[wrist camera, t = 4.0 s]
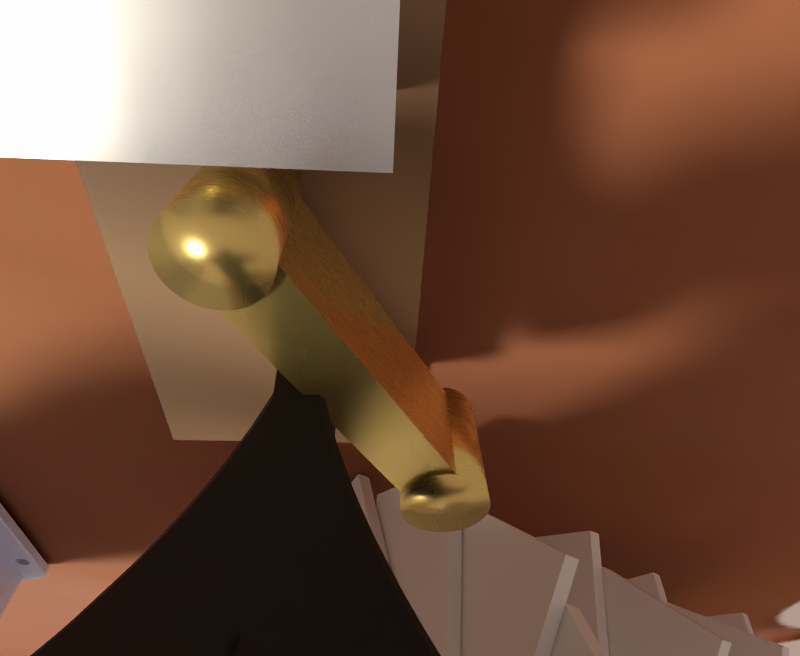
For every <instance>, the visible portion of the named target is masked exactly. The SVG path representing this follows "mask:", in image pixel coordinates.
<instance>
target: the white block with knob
mask: <svg viewBox="0 0 800 656" xmlns="http://www.w3.org/2000/svg"><path fill="white" fill-rule="evenodd" d="M399 13H400V0H0V157H6V158H31V159H56V160H81V161H105V162H130V163H155V164H180V165H204V166H229V167H254V168H278V169H303V170H328V171H353V172H377V173H393V159H394V135H395V111H396V86H397V62H398V38H399Z"/></svg>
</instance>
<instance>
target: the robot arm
mask: <svg viewBox="0 0 800 656" xmlns="http://www.w3.org/2000/svg"><path fill="white" fill-rule="evenodd" d="M335 429H336V427H335V426H334V425H333V424H332V423H331V421H330V417H329V413H328V409H327V405H326V400H325V399H324V398H322V397H321V396H320V395H303V394H302V393H300V392H299V391H298V390H297V389H296V388H295V387H294V386H293V385H292V384H291V383H290V382H289V381H288V380H287V379H286V378H285V377H284V376H283V375H282V374H281V373H280V372H279V371H278V370H277V372H276V379H275V386H274V392H273V394H272V395H271V397H270V399H269V400H268V402H267V403H266V405H265V406H264V408H263V409H262V411H261V412H260V414H259V416H258V417H257V419H256V420H255V422H254V423H253V425H252V426H251V427H250V429H249V430H248V432H247V433H246V434H245V436H244V437H243V439H242V440H241V441H240V443H239V444H238V445H237V447H236V448H235V449H234V451H233V452H232V453H231V455H230V456H229V457H228V459H227V460H226V462H225V463H224V464H223V465H222V467H221V468H220V469H219V470H218V472H217V473H216V474H215V475H214V477H213V478H212V479H211V480H210V481H209V483H208V484H207V485H206V486H205V487H204V489H203V490H202V491H201V492H200V493H199V494H198V496H197V497H196V498H195V499H194V500H193V501H192V502H191V504H190V505H189V506H188V507H187V508H186V509H185V510H184V512H183V513H182V514H181V515H180V516H179V517H178V518H177V519H176V520H175V521H174V522H173V523H172V524H171V525H170V526H169V528H168V529H167V530H166V531H165V532H164V533H163V534H162V535H161V536H160V537H159V538H158V539H157V540H156V541H155V542H154V543H153V544H152V545H151V546H150V547H149V548H148V549H147V550H146V551H145V553H144V554H143V555H142V556H141V557H140V558H139V559H137V560H136V561H135V562H134V563H133V564H132V565H131V566H130V567H129V568H128V569H127V570H126V571H125V572H124V573H123V574H122V575H121V576H120V577H119V578H117V579H116V580H115V581H114V582H113V583H112V584H111V585H110V586H109V587H108V588H107V589H106V590H104V591H103V592H102V593H101V594H100V595H99V596H98V597H97V598H96V599H95V600H94V601H93V602H92V603H90V604H89V605H88V606H87V607H86V608H85V609H84V610H83V611H82V612H81V613H80V614H79V615H78V616H76V617H75V618H74V619H73V620H72V621H71V622H70V623H69V624H67V625H66V626H65V627H64V628H63V629H62V630H61V631H59V632H58V633H57V634H56V635H55V636H54V637H52V638H51V639H50V640H49V641H48V642H46V643H45V644H44V645H43V646H42V647H40V648H39V649H38V650H37V651H35V652H34V653H33V654H32V655H31V656H441V655H440V654H439V652H438V650H437V649H436V647H435V645H434V644H433V642H432V640H431V639H430V637H429V635H428V634H427V632H426V630H425V629H424V627H423V626H422V624H421V622H420V620H419V619H418V617H417V615H416V613H415V612H414V610H413V608H412V606H411V605H410V603H409V601H408V599H407V598H406V596H405V594H404V592H403V591H402V589H401V587H400V585H399V583H398V581H397V579H396V577H395V575H394V573H393V572H392V570H391V568H390V566H389V564H388V562H387V560H386V558H385V556H384V554H383V552H382V550H381V548H380V546H379V544H378V542H377V540H376V538H375V536H374V534H373V532H372V530H371V528H370V526H369V523H368V521H367V519H366V517H365V515H364V512H363V510H362V508H361V506H360V503H359V501H358V498H357V496H356V494H355V491H354V489H353V486H352V484H351V481H350V479H349V476H348V474H347V471H346V468H345V465H344V463H343V460H342V457H341V454H340V451H339V448H338V445H337V442H336V438H335ZM48 569H49V567H48V564H47V563H46V562H45V560H44V559H43V558H42V557H41V555H40V554H39V553H38V551H37V550H36V549H35V547H34V546H33V545H32V544H31V542H30V541H29V540H28V538H27V537H26V536H25V534H24V533H23V532H22V531H21V529H20V528H19V527H18V525H17V524H16V523H15V521H14V520H13V519H12V517H11V516H10V515H9V514H8V512H7V511H6V510H5V508H4V507H3V506H2V504H1V503H0V617H1V615H2V613H3V611H4V610H5V608H6V606H7V604H8V603H9V601H10V599H11V597H12V596H13V594H14V592H15V591H16V589H17V587H18V585H19V584H20V582H21V580H22V579H37V578H41V577H44V576H45V574H46V572H47V570H48Z"/></svg>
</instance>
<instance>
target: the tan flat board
mask: <svg viewBox="0 0 800 656" xmlns="http://www.w3.org/2000/svg"><path fill="white" fill-rule="evenodd" d="M446 3H447V0H400V13H399V38H398V62H397V86H396V111H395V135H394V159H393V173H377V172H353V171H328V170H303V169H297V171H298V173H299V176H300V179H301V184H302V196H301V199H302V200H303V201H304V203H305V204H306V205H307V207H308V208H309V209H310V211H311V212H312V213H313V215H314V216H315V217H316V219H317V220H318V221H319V223H320V224H321V225H322V227H323V228H324V229H325V231H326V232H327V233H328V235H329V236H330V237H331V239H332V240H333V242H334V243H335V244H336V246H337V247H338V248H339V250H340V251H341V252H342V254H343V255H344V256H345V258H346V259H347V260H348V262H349V263H350V264H351V266H352V267H353V268H354V270H355V271H356V272H357V274H358V275H359V276H360V278H361V279H362V280H363V282H364V283H365V284H366V286H367V287H368V288H369V290H370V291H371V293H372V294H373V295H374V297H375V298H376V299H377V301H378V302H379V303H380V305H381V306H382V307H383V309H384V310H385V311H386V313H387V314H388V315H389V317H390V318H391V319H392V321H393V322H394V323H395V325H396V326H397V327H398V329H399V330H400V331H401V333H402V334H403V335H404V337H405V338H406V340H407V341H408V342H409V344H410V345H411V346H412V348H413V349H414V350H415V351H416V339H417V328H418V317H419V306H420V295H421V283H422V272H423V261H424V250H425V239H426V227H427V216H428V205H429V194H430V182H431V171H432V160H433V149H434V138H435V126H436V115H437V104H438V93H439V82H440V70H441V59H442V48H443V37H444V25H445V14H446ZM75 161H76V164H77V167H78V170H79V172H80V175H81V178H82V181H83V184H84V187H85V190H86V192H87V195H88V198H89V201H90V204H91V207H92V209H93V212H94V215H95V218H96V221H97V224H98V227H99V229H100V232H101V235H102V238H103V241H104V244H105V246H106V249H107V252H108V255H109V258H110V261H111V264H112V266H113V269H114V272H115V275H116V278H117V281H118V283H119V286H120V289H121V292H122V295H123V298H124V301H125V303H126V306H127V309H128V312H129V315H130V318H131V320H132V323H133V326H134V329H135V332H136V335H137V338H138V340H139V343H140V346H141V349H142V352H143V355H144V357H145V360H146V363H147V366H148V369H149V372H150V375H151V377H152V380H153V383H154V386H155V389H156V392H157V395H158V397H159V400H160V403H161V406H162V409H163V412H164V414H165V417H166V420H167V423H168V426H169V429H170V432H171V434H172V437H173V440H215V441H241V440H242V439H243V437H244V436H245V434H246V433H247V432H248V430H249V429H250V427H251V426H252V425H253V423H254V422H255V420H256V419H257V417H258V416H259V414H260V412H261V411H262V409H263V408H264V406H265V405H266V403H267V402H268V400H269V399H270V397H271V395H272V394H273V392H274V386H275V379H276V372H277V369H276V368H275V367H274V366H273V365H272V364H271V363H270V362H269V361H268V360H267V359H266V358H265V357H264V356H263V355H262V354H261V353H260V352H259V351H258V350H257V349H256V348H255V347H254V346H253V345H252V344H251V343H250V342H249V341H248V340H247V339H246V338H245V337H244V336H243V335H242V334H241V333H240V332H239V331H238V330H237V329H236V328H235V327H234V326H233V325H232V324H231V323H230V322H229V321H228V320H227V319H226V318H225V317H224V316H223V315H222V314H221V313H220V312H219V311H218V310H211V309H207V308H203V307H200V306H197V305H194V304H192V303H190V302H188V301H186V300H184V299H182V298H181V297H179V296H178V295H176V294H175V293H174V292H172V291H171V290H170V289H169V288H168V287H167V286H166V285H165V284H164V283H163V282H162V281H161V279H160V278H159V277H158V275H157V274H156V272H155V270H154V269H153V267H152V264H151V262H150V259H149V255H148V249H147V240H148V235H149V231H150V229H151V226H152V225H153V223H154V221H155V220H156V219H157V217H158V216H159V215H160V214H161V213H162V211H163V210H164V209H165V208H166V207H167V205H168V204H169V203H170V202H171V201H172V199H173V198H174V197H175V196H176V195H177V193H178V192H179V191H180V190H181V189H182V187H183V186H184V185H185V184H186V183H187V181H188V180H189V179H190V178H191V177H192V175H193V174H194V173H195V172H196V171H197V169H198V168H199V167H200V166H201V165H180V164H155V163H130V162H105V161H81V160H75ZM335 438H336V442H346V443H351V442H350V441H349V440H348V439H347V438H346V437H345V436H344V435H343V434H342V433H341V432H340V431H339V430H338V429H337V428H336V429H335Z"/></svg>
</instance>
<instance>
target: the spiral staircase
mask: <svg viewBox="0 0 800 656" xmlns="http://www.w3.org/2000/svg"><path fill="white" fill-rule="evenodd" d="M351 484H352V486H353V489H354V491H355V494H356V496H357V498H358V501H359V503H360V506H361V508H362V510H363V512H364V515H365V517H366V519H367V521H368V523H369V526H370V528H371V530H372V532H373V534H374V536H375V538H376V540H377V542H378V544H379V546H380V548H381V550H382V552H383V554H384V556H385V558H386V560H387V562H388V564H389V566H390V568H391V570H392V572H393V573H394V575H395V577H396V579H397V581H398V583H399V585H400V587H401V589H402V591H403V592H404V594H405V596H406V598H407V599H408V601H409V603H410V605H411V606H412V608H413V610H414V612H415V613H416V615H417V617H418V619H419V620H420V622H421V624H422V626H423V627H424V629H425V630H426V632H427V634H428V635H429V637H430V639H431V640H432V642H433V644H434V645H435V647H436V649H437V650H438V652H439V654H440V655H441V656H789V648H787V647H784V646H782V645H779V644H777V643H774V642H771V641H769V640H766V639H763V638H761V637H758V636H756V635H754V633H753V630H752V627H751V624H750V621H749V618H748V615H747V614H744V613H734V614H724V615H715V616H706V617H705V616H703V615H700V614H697V613H695V612H692V611H689V610H687V609H684V608H682V607H679V606H676V605H674V604H671V603H668V602H667V598H666V595H665V592H664V589H663V585H662V582H661V579H660V576H659V575H658V574H655V573H653V572H652V573H649V574H645V575H641V576H638V577H634V578H630V579H625V578H623V577H622V576H620V575H618V574H617V573H615V572H614V571H612V570H610V569H607V568H605V567H602V566H601V554H600V542H599V534H597V533H595V532H593V531H582V532H574V533H566V534H558V535H550V536H542V537H533V536H531V535H529V534H527V533H526V532H524V531H522V530H520V529H518V528H516V527H514V526H512V525H510V524H508V523H506V522H504V521H502V520H500V519H498V518H496V517H494V516H492V515H490V514H487V515H486V516H485V517H484V518H483V519H482V520H481V521H480V522H478V523H476V524H475V525H473V526H471V527H468V528H465V529H462V530H458V531H452V532H431V531H426V530H422V529H419V528H416V527H414V526H412V525H411V524H409V523H408V522H407V521H406V520H405V519H404V518H403V516H402V514H401V510H400V491H399V490H398V489H397V488H396V487H394V488H392V489H389V490H387V491H385V492H382V493H380V494H377V500H376V505H375V500H374V496H373V492H372V488H371V484H370V479H369V478H368V477H366V476H364V475H361V474H358V475H357V476H356V478H355V479H354V480H353V481H352V483H351Z"/></svg>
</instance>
